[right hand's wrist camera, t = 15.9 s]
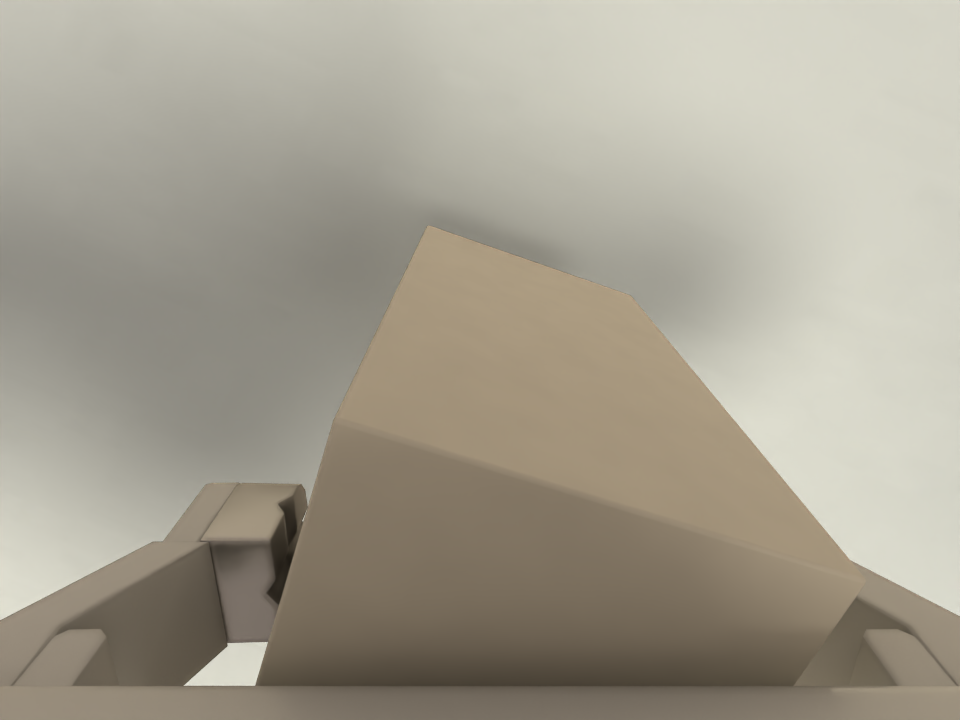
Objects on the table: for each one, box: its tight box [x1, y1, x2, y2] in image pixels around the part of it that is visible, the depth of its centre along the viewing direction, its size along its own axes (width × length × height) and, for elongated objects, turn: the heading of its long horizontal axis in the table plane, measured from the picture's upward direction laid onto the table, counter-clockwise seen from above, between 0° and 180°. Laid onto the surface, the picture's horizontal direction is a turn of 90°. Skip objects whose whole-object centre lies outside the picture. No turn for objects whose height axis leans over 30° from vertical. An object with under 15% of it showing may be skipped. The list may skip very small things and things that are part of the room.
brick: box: [255, 226, 866, 686], centre depth 11 cm, size 5×7×10 cm
